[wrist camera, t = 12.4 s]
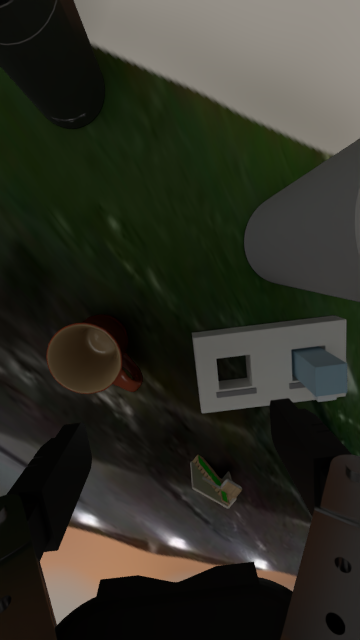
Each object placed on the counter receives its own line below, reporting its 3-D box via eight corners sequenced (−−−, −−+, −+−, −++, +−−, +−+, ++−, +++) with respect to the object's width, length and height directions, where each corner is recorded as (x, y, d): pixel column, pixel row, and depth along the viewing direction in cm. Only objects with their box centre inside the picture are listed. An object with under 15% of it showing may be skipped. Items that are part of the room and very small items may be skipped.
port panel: (191, 332, 42) (193, 338, 39) (334, 315, 42) (347, 319, 39) (200, 403, 44) (202, 414, 41) (334, 387, 44) (346, 396, 41)
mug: (66, 341, 42) (31, 366, 32) (98, 296, 40) (72, 307, 30) (129, 384, 44) (116, 421, 34) (162, 343, 42) (159, 368, 32)
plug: (286, 345, 43) (315, 367, 34) (311, 342, 43) (347, 363, 34) (287, 377, 44) (316, 406, 35) (312, 374, 44) (347, 402, 35)
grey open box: (203, 443, 47) (209, 480, 39) (235, 462, 48) (247, 502, 40) (190, 460, 47) (193, 500, 39) (221, 479, 48) (230, 521, 40)
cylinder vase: (291, 173, 37) (511, 8, 13) (346, 240, 39) (625, 207, 15) (224, 239, 39) (308, 204, 15) (280, 301, 41) (435, 359, 17)
